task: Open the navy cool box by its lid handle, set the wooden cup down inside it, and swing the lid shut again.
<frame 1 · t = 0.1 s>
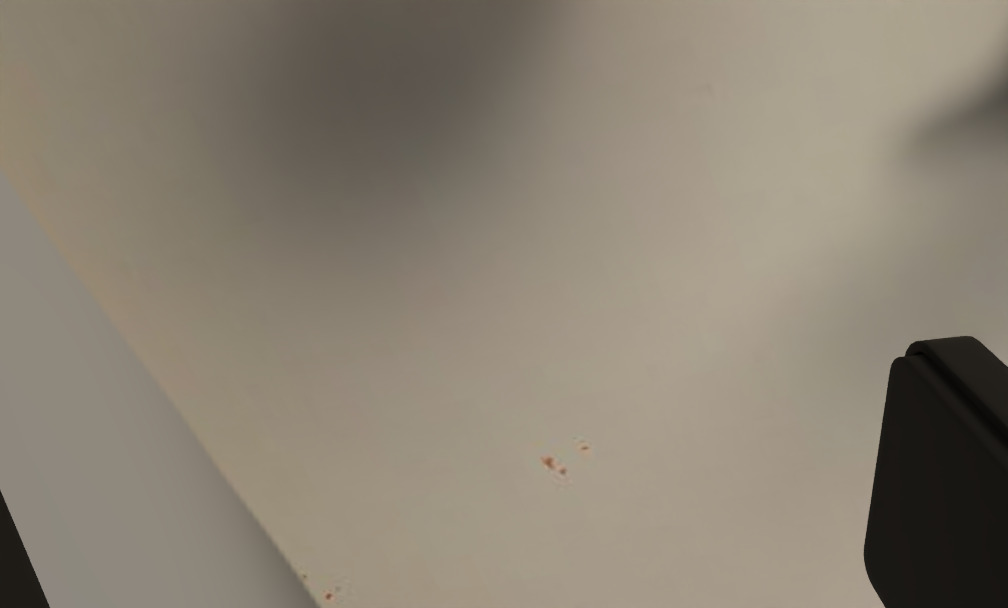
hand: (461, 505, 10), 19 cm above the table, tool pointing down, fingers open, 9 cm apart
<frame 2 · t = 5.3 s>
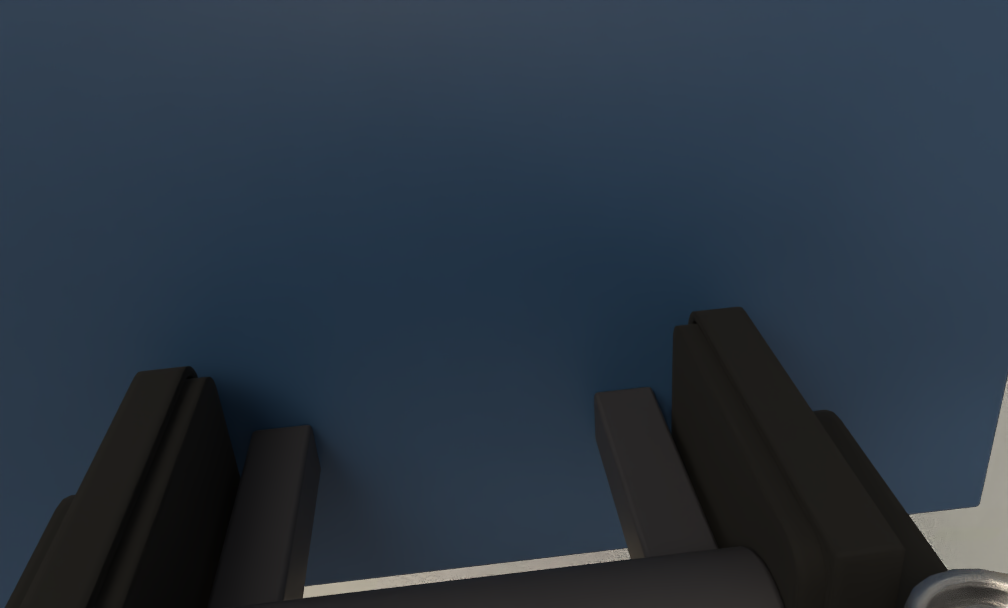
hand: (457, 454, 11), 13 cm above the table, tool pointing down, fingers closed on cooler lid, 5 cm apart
cooler lid: (409, 102, 7), point 14 cm above the table, hinge at 0.0°, touching gripper
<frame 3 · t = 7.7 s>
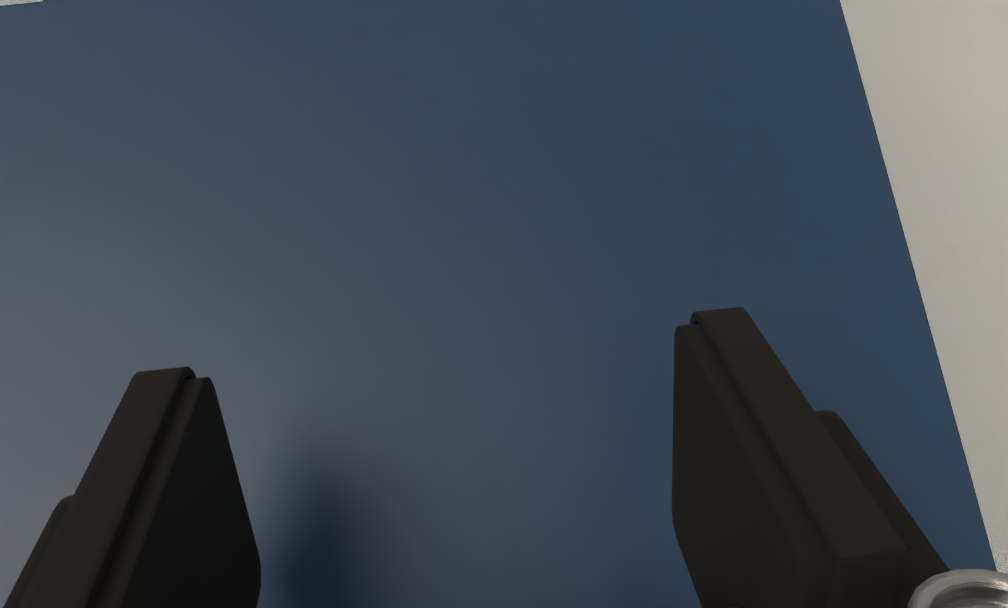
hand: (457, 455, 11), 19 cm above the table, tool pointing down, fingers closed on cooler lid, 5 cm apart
cooler lid: (443, 319, 11), point 18 cm above the table, hinge at 46.0°, touching gripper
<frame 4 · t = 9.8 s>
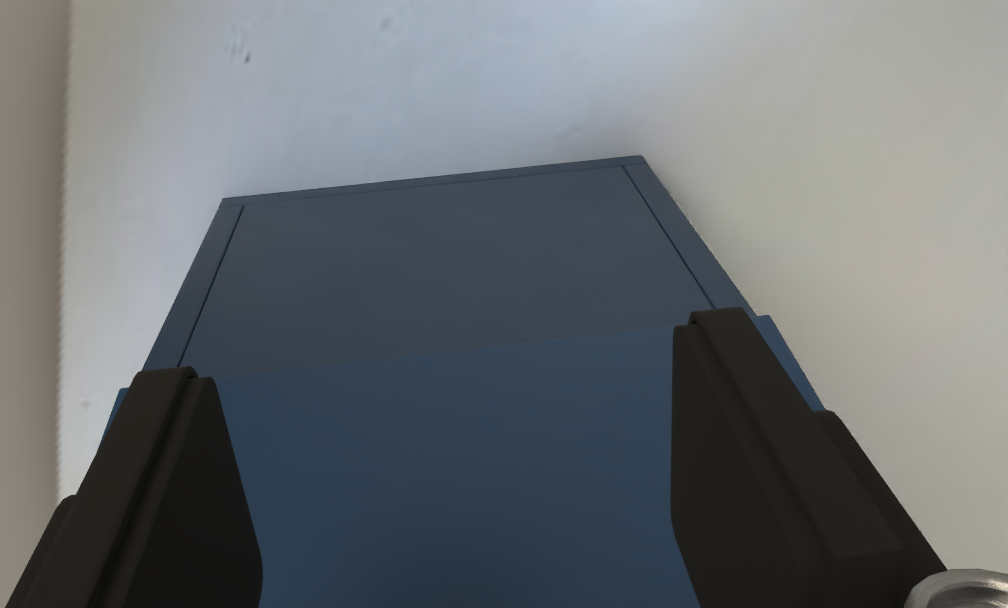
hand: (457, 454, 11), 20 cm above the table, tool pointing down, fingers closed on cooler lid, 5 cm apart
cooler: (453, 343, 33), on the table
cooler lid: (466, 538, 13), point 19 cm above the table, hinge at 82.8°, touching gripper
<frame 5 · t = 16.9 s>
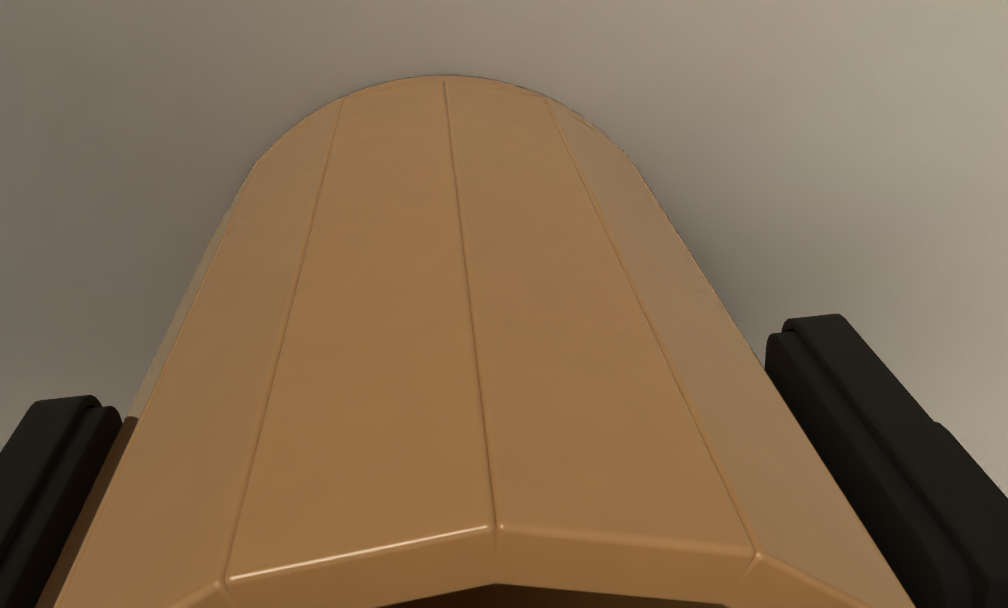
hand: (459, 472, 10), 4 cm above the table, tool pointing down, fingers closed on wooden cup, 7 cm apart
wooden cup: (446, 299, 14), on the table, touching gripper
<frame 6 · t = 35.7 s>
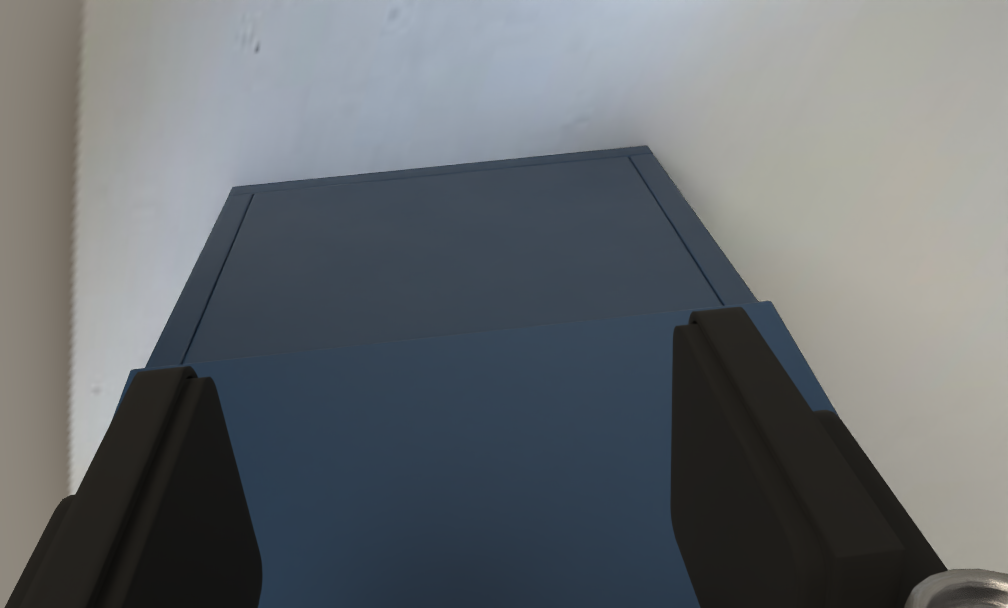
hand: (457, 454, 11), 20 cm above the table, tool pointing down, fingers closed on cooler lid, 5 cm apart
cooler: (460, 332, 33), on the table
cooler lid: (468, 509, 13), point 19 cm above the table, hinge at 83.0°, touching gripper
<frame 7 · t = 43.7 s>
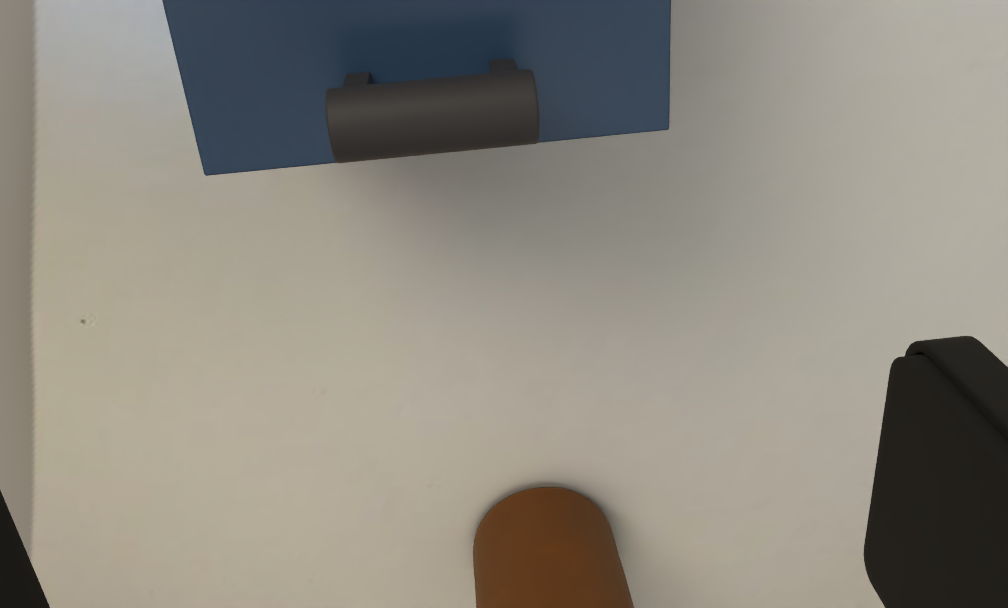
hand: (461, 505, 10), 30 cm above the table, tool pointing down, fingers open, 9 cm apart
mug: (532, 564, 51), on the table
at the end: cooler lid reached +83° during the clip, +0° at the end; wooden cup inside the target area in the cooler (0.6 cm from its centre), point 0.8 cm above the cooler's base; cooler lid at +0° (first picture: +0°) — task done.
